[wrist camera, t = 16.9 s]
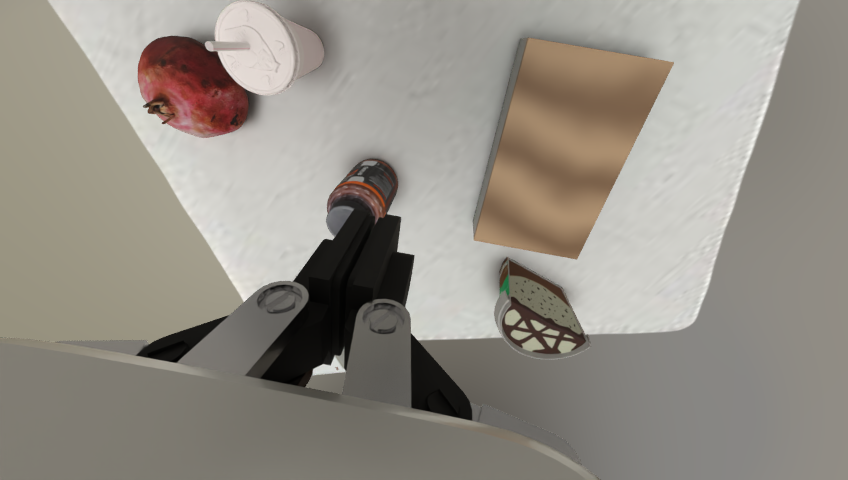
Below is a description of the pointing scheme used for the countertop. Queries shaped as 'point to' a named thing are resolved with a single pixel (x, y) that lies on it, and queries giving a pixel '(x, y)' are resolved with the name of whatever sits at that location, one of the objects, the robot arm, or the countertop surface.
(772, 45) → the countertop surface
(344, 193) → the supplement bottle
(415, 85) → the countertop surface
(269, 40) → the smoothie
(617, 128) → the lid
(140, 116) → the countertop surface
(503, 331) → the food container
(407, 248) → the countertop surface
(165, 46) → the fruit
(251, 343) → the robot arm
